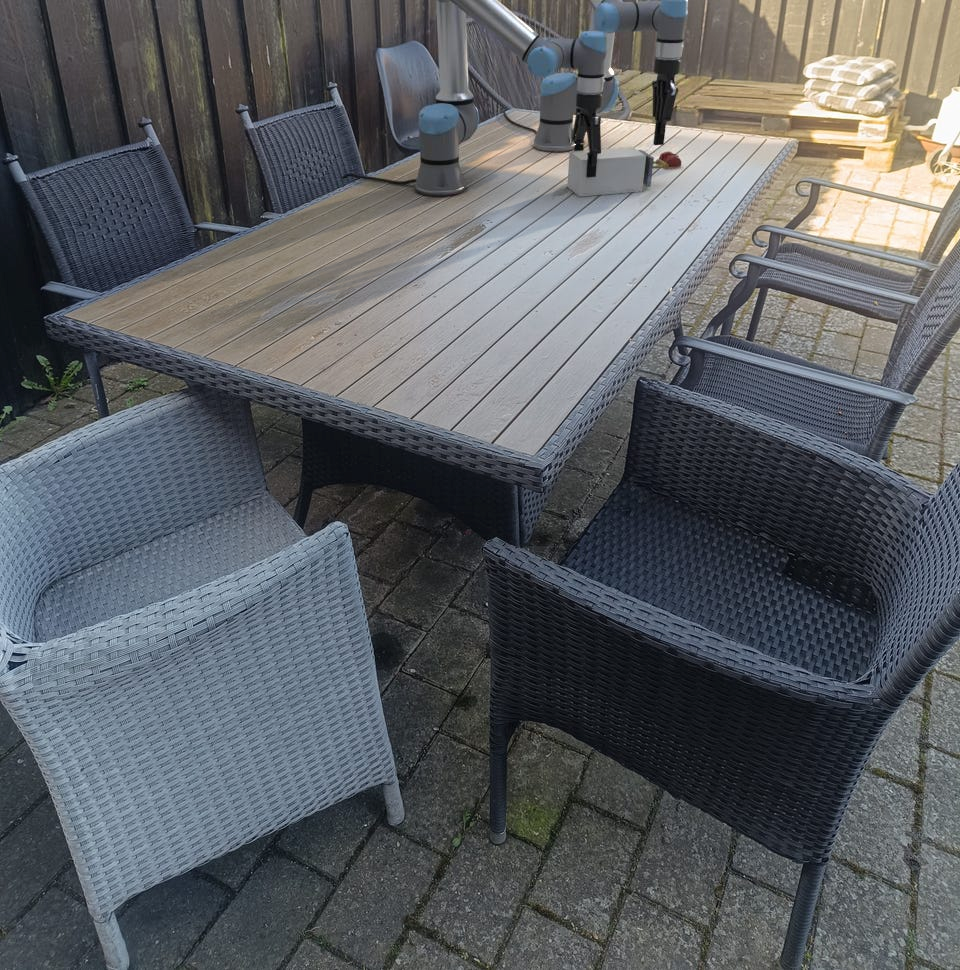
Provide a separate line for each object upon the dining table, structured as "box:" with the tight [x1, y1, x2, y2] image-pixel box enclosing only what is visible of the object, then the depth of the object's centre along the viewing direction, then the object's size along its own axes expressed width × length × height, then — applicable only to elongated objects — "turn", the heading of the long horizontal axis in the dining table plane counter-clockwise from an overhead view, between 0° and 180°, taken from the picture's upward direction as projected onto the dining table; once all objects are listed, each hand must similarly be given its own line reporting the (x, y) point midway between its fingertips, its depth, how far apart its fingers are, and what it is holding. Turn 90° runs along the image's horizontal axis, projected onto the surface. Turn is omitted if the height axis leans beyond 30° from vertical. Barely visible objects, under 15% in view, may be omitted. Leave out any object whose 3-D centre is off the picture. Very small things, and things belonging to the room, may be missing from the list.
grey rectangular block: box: [567, 146, 646, 197], centre depth 256 cm, size 20×10×11 cm, turn 105°
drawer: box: [637, 149, 670, 188], centre depth 257 cm, size 26×9×9 cm, turn 105°
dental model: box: [658, 151, 682, 168], centre depth 279 cm, size 6×4×8 cm
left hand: (584, 171), depth 254 cm, fingers closed on grey rectangular block, 10 cm apart
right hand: (658, 144), depth 255 cm, fingers closed
